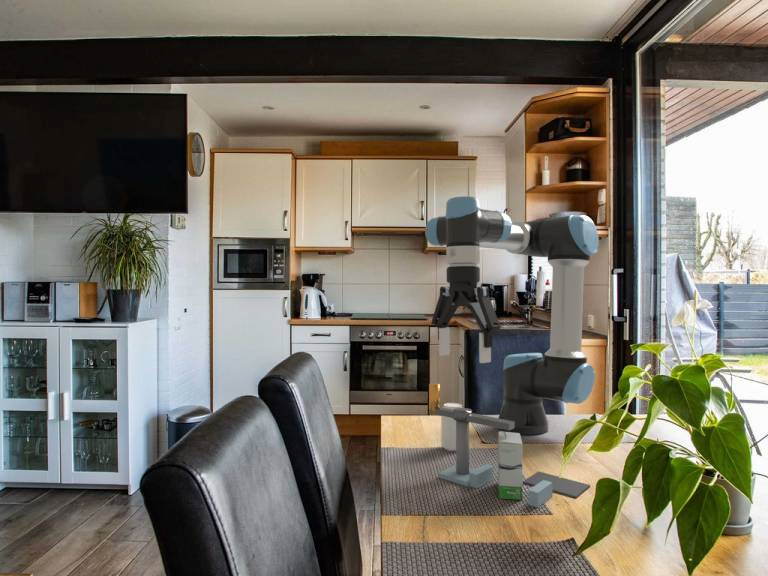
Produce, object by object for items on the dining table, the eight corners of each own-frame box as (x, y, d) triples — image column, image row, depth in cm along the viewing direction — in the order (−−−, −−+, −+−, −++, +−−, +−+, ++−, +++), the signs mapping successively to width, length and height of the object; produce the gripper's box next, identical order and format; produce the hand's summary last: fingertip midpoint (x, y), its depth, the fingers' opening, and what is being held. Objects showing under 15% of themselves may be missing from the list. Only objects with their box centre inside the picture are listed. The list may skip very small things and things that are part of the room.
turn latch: (435, 410, 123) (435, 382, 123) (516, 427, 108) (516, 395, 108) (424, 413, 120) (424, 384, 120) (506, 431, 105) (506, 398, 105)
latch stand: (457, 467, 121) (457, 413, 121) (553, 495, 105) (553, 433, 105) (438, 477, 115) (438, 420, 115) (536, 508, 99) (536, 442, 99)
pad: (538, 473, 117) (538, 471, 117) (590, 486, 109) (590, 484, 109) (522, 483, 111) (522, 481, 111) (576, 498, 103) (576, 496, 103)
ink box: (523, 501, 102) (523, 443, 102) (498, 499, 103) (498, 442, 103) (520, 484, 111) (520, 431, 111) (497, 482, 112) (497, 430, 112)
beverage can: (462, 453, 131) (462, 408, 131) (439, 451, 133) (439, 406, 133) (465, 446, 137) (465, 402, 137) (443, 444, 139) (443, 401, 139)
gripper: (416, 267, 122) (417, 353, 122) (490, 263, 101) (491, 367, 101) (440, 267, 126) (441, 351, 126) (516, 263, 105) (517, 364, 105)
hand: (463, 358), depth 113 cm, fingers open, 13 cm apart
